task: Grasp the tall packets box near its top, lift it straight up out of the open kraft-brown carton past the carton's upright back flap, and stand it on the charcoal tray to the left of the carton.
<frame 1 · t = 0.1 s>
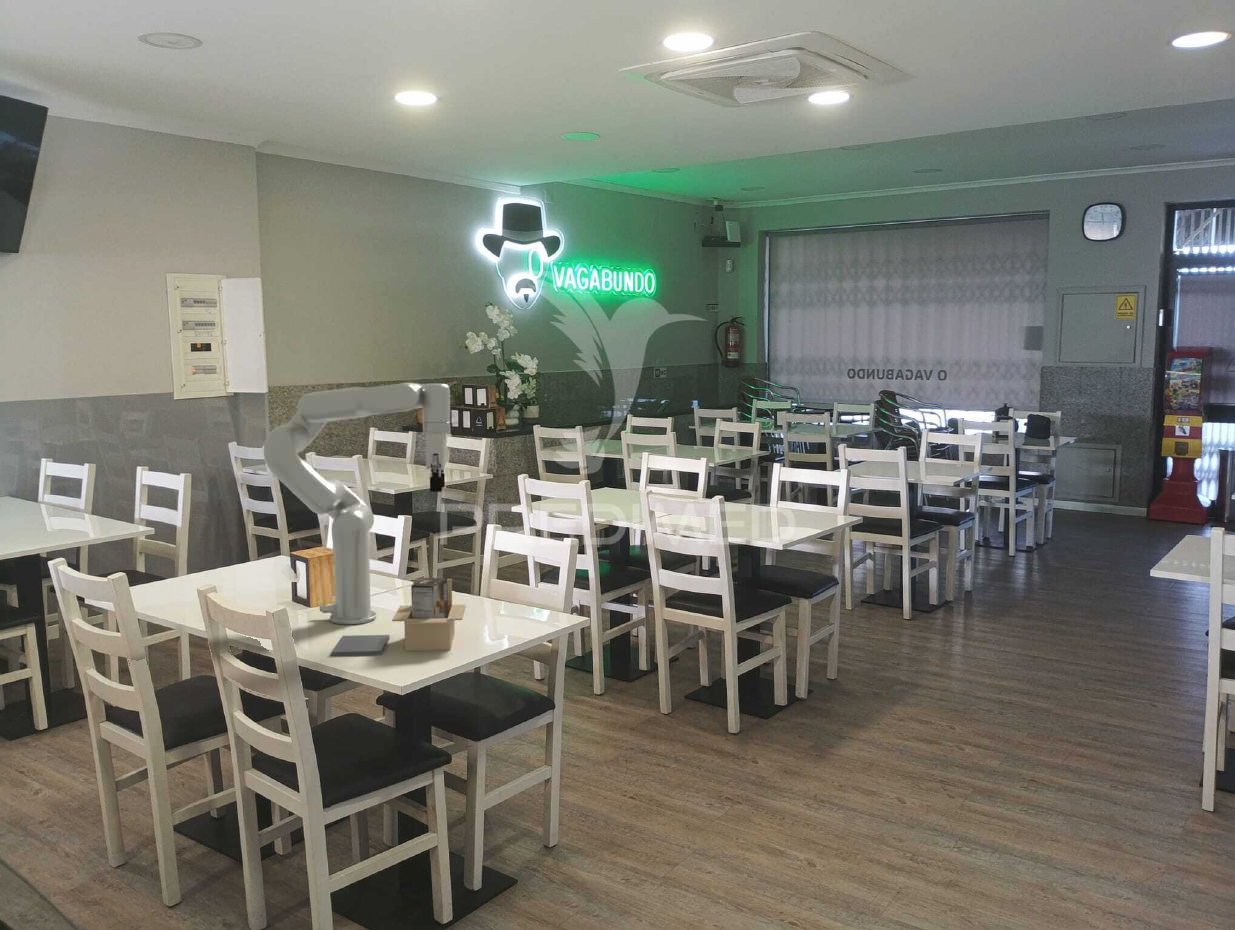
hand: (437, 489, 263), 37 cm above the table, tool pointing down, fingers open, 9 cm apart
tray: (361, 647, 239), on the table
carton: (430, 642, 243), on the table
coffee box: (430, 643, 243), resting in carton
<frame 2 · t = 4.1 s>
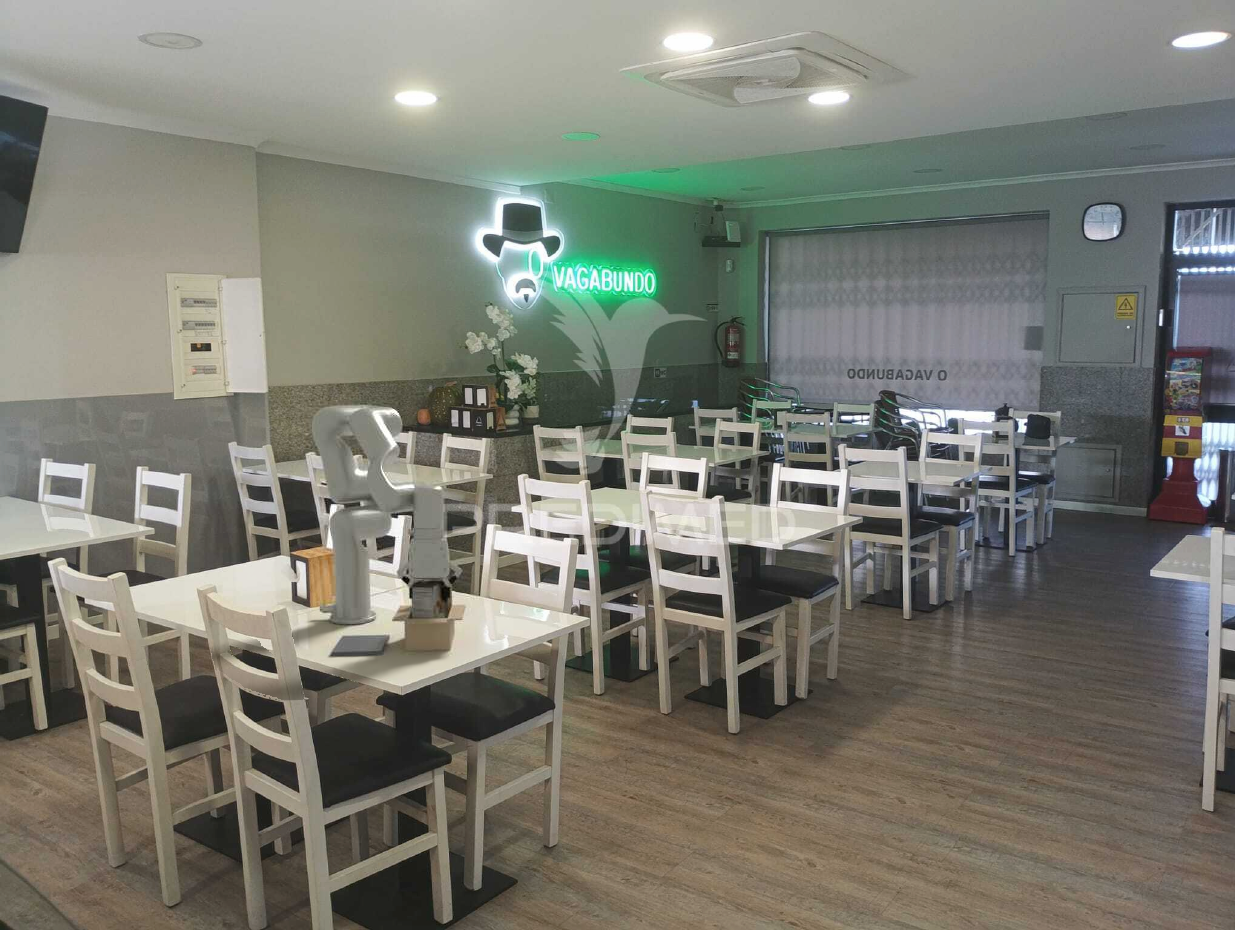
hand: (430, 600, 242), 11 cm above the table, tool pointing down, fingers closed on coffee box, 7 cm apart
coffee box: (430, 643, 243), resting in carton, touching gripper
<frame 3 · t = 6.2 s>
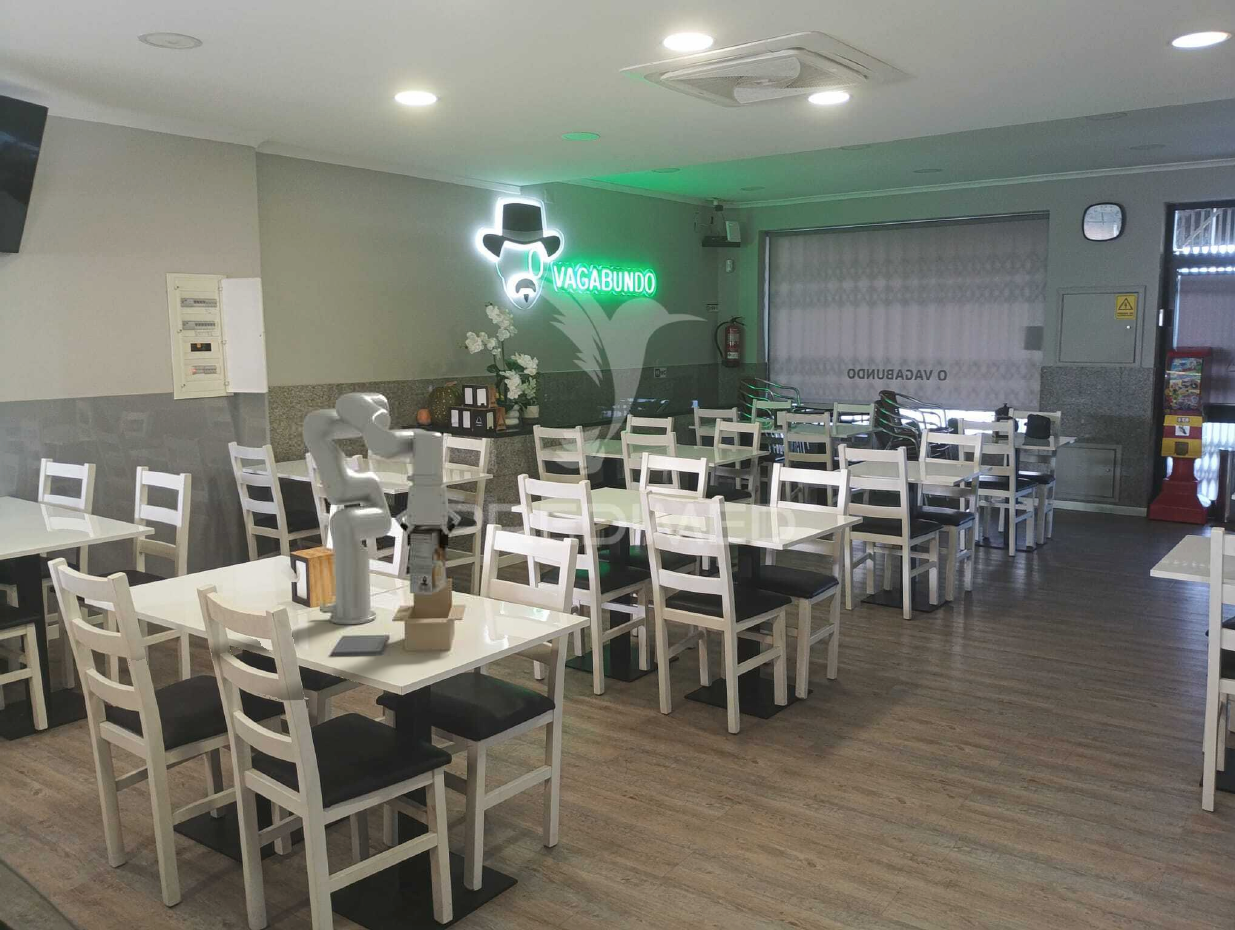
hand: (428, 548, 241), 25 cm above the table, tool pointing down, fingers closed on coffee box, 7 cm apart
coffee box: (428, 590, 242), point 13 cm above the table, touching gripper
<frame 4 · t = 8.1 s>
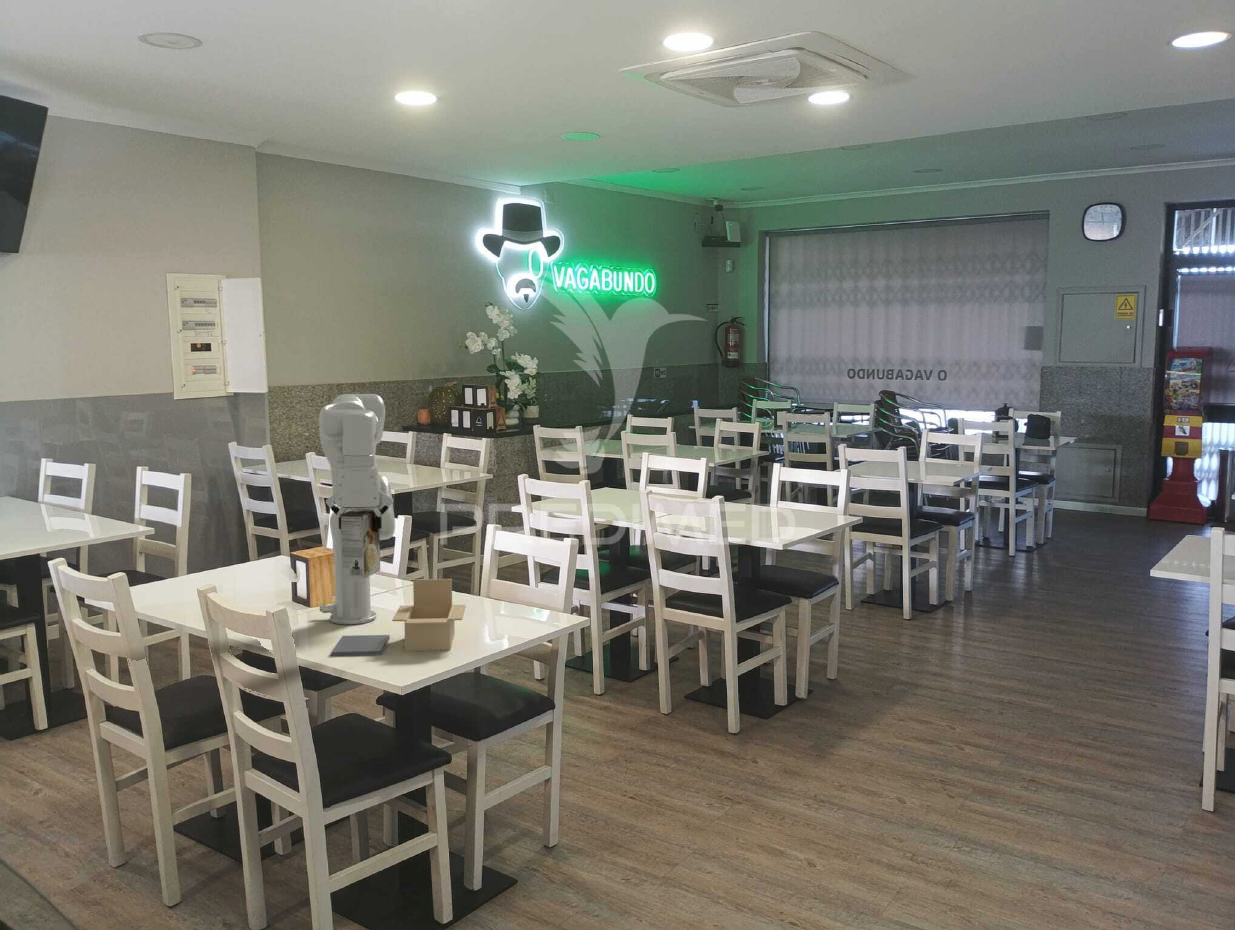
hand: (360, 531, 236), 30 cm above the table, tool pointing down, fingers closed on coffee box, 7 cm apart
coffee box: (361, 575, 237), point 19 cm above the table, touching gripper
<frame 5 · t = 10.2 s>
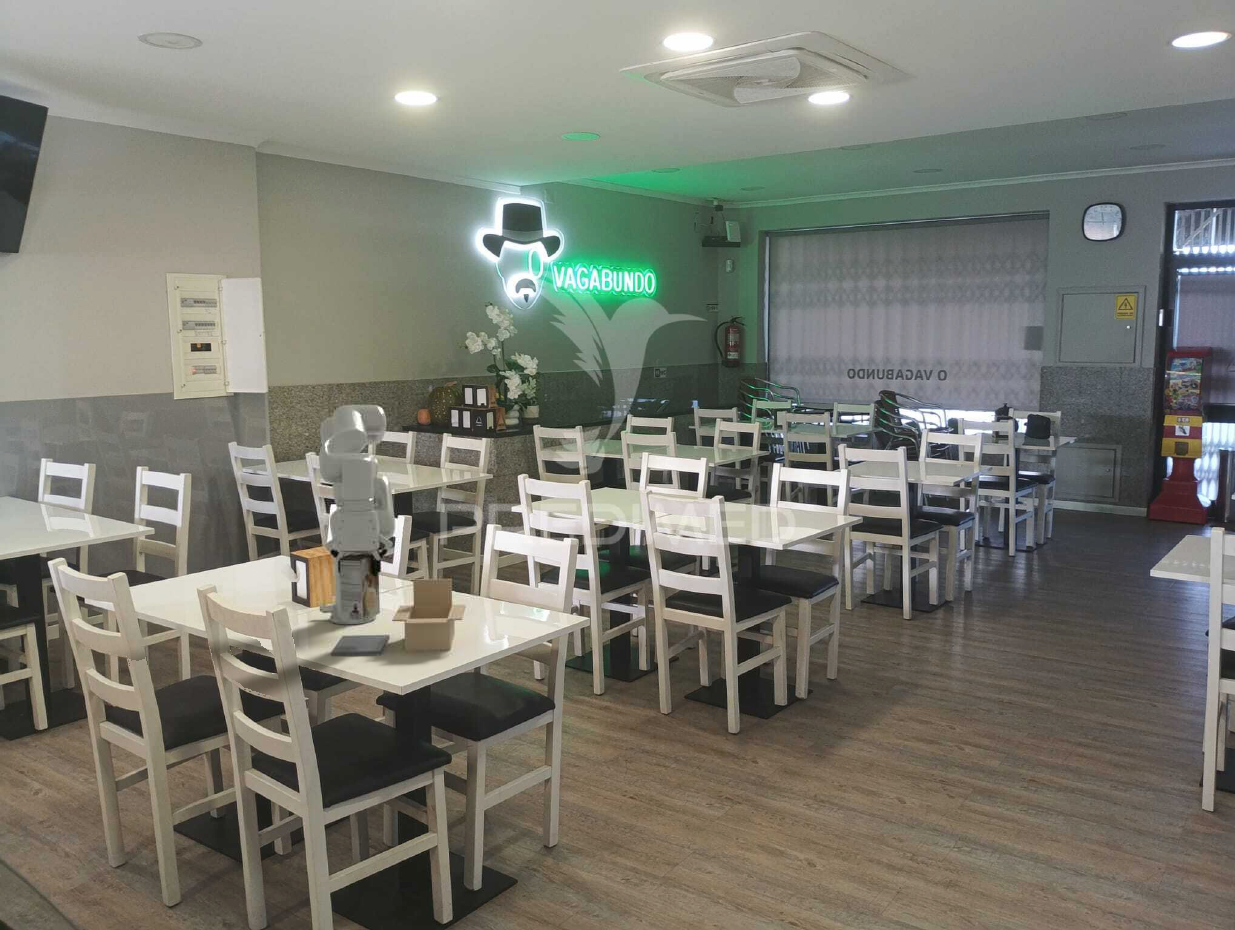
hand: (359, 574, 237), 19 cm above the table, tool pointing down, fingers closed on coffee box, 7 cm apart
coffee box: (360, 618, 238), point 8 cm above the table, touching gripper
when the fingers open (13 cm above the table, at t = 12.3 s): coffee box drops 1 cm, resting on tray.
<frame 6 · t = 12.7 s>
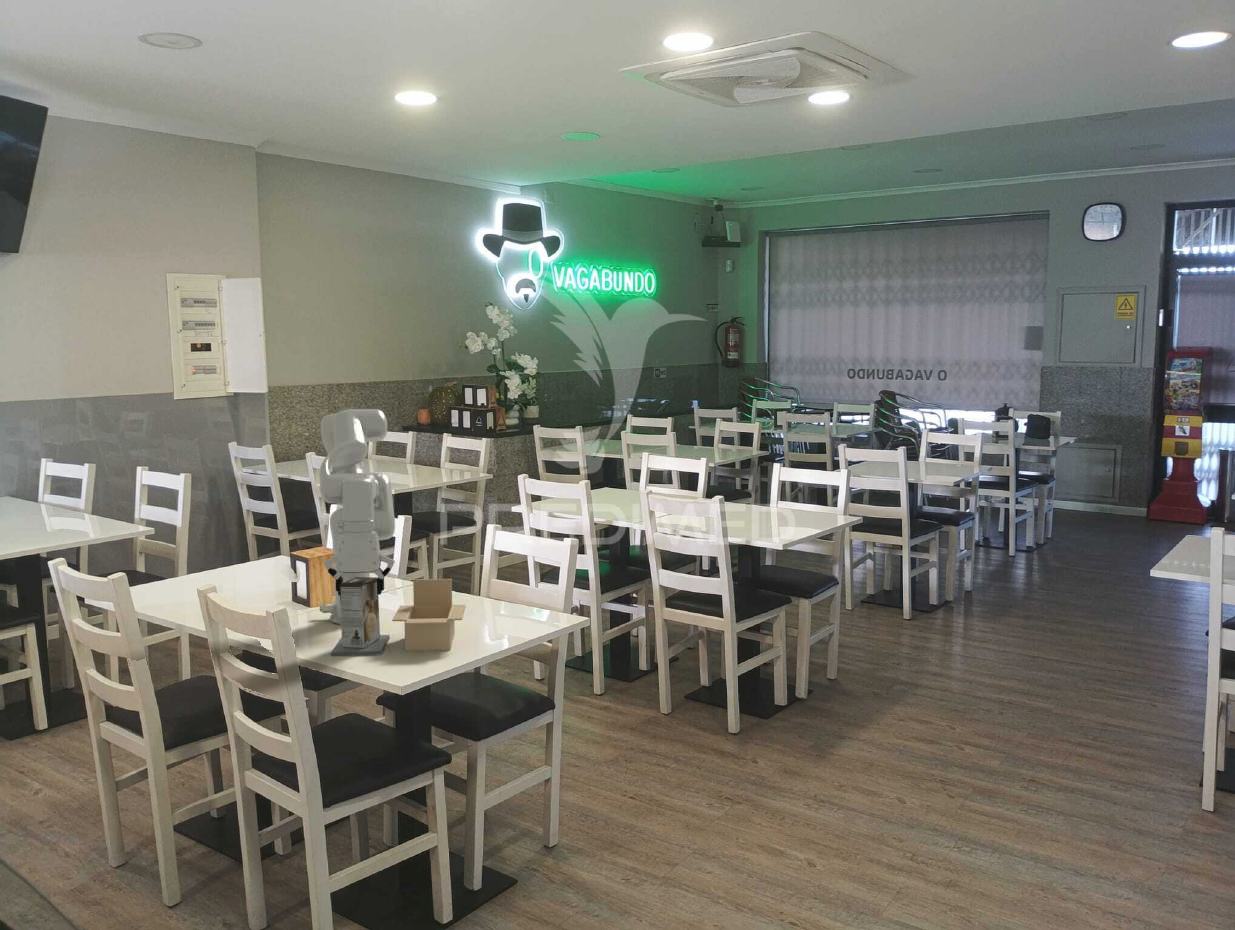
hand: (360, 593, 238), 14 cm above the table, tool pointing down, fingers open, 9 cm apart
coffee box: (361, 643, 239), point 1 cm above the table, touching tray
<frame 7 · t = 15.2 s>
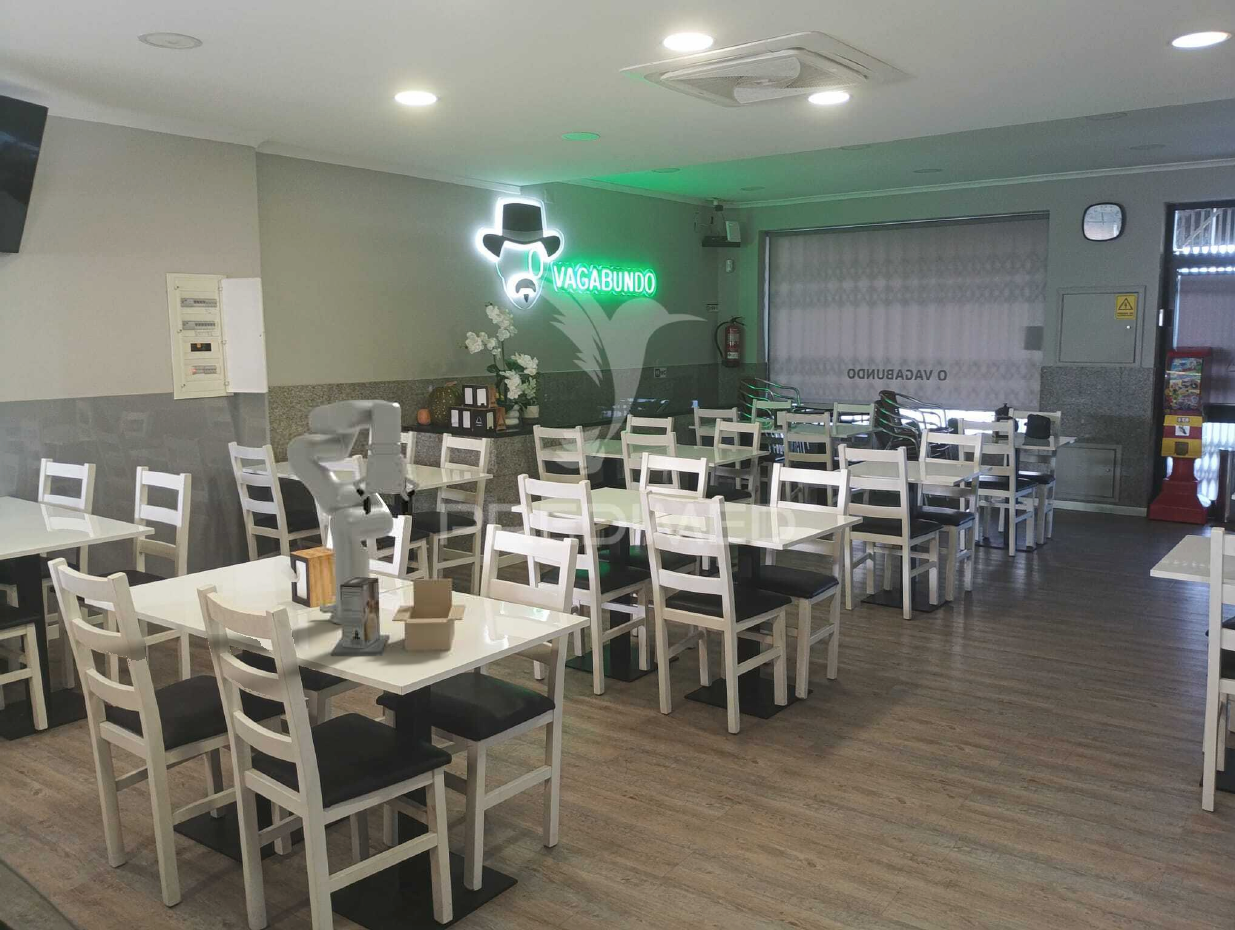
hand: (386, 514, 248), 32 cm above the table, tool pointing down, fingers open, 9 cm apart
nothing on the table moved.
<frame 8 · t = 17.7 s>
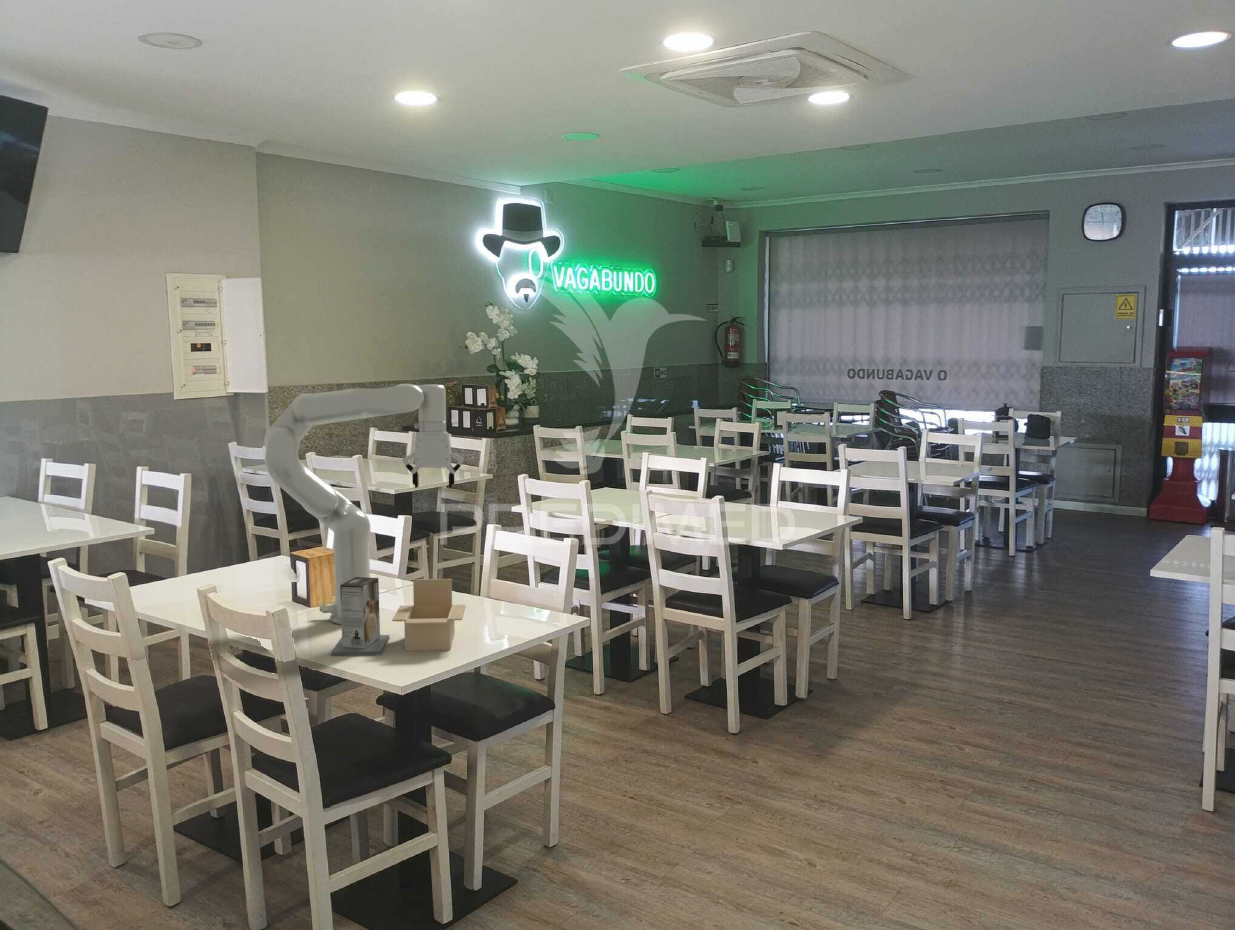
hand: (433, 487, 271), 36 cm above the table, tool pointing down, fingers open, 9 cm apart
nothing on the table moved.
at the end: coffee box inside the target area on the tray (0.2 cm from its centre), point 0.8 cm above the tray's base; coffee box tilted 0°; the gripper is holding nothing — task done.
